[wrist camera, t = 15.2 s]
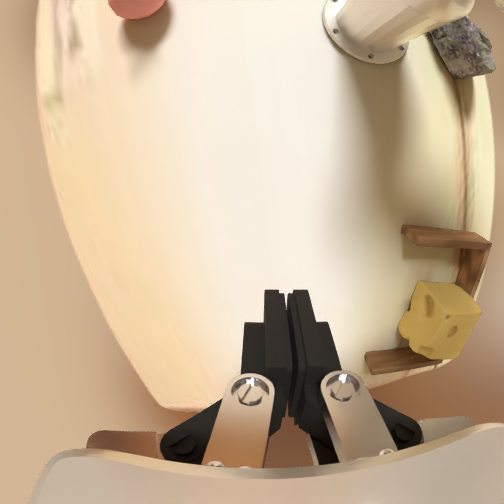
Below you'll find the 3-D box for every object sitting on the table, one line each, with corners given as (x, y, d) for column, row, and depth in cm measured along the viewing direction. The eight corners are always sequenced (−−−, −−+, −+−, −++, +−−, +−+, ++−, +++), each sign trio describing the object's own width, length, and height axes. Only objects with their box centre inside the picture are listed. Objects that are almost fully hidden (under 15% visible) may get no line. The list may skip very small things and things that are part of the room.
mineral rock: (415, -1, 21) (448, -22, 12) (465, 24, 21) (501, 13, 12) (422, 65, 26) (464, 55, 17) (472, 87, 26) (513, 86, 17)
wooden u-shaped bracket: (402, 225, 37) (418, 237, 32) (475, 232, 37) (491, 243, 32) (364, 356, 47) (371, 374, 43) (431, 347, 47) (441, 363, 43)
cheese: (395, 327, 45) (416, 364, 36) (417, 276, 40) (447, 309, 31) (435, 326, 45) (457, 359, 36) (456, 280, 41) (486, 310, 32)
